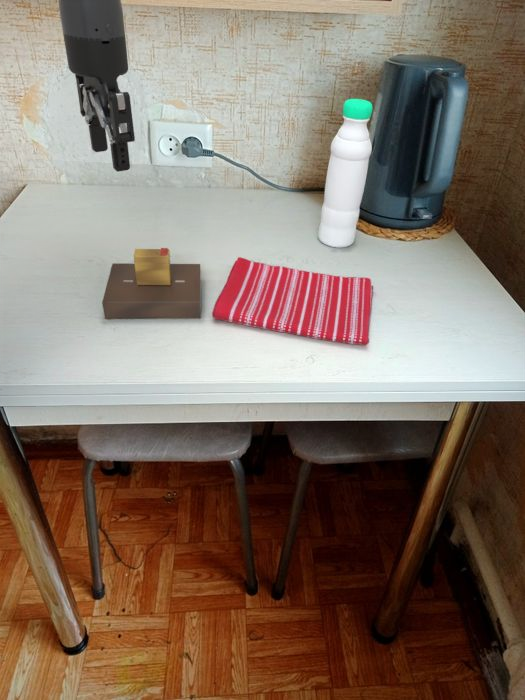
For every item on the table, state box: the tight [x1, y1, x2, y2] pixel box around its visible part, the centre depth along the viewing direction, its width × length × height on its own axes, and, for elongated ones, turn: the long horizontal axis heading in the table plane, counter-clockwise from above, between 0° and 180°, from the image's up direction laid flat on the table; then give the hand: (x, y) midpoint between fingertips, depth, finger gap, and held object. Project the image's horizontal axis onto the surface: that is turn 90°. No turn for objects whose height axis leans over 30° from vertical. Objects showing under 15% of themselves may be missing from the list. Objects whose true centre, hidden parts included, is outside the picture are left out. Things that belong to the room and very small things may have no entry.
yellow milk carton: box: [133, 247, 171, 285], centre depth 76 cm, size 5×2×5 cm, turn 95°
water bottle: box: [317, 98, 373, 249], centre depth 91 cm, size 7×7×25 cm
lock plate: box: [101, 262, 202, 320], centre depth 79 cm, size 14×11×3 cm
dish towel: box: [211, 256, 374, 346], centre depth 80 cm, size 17×24×3 cm
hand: (110, 160), depth 74 cm, fingers open, 8 cm apart
